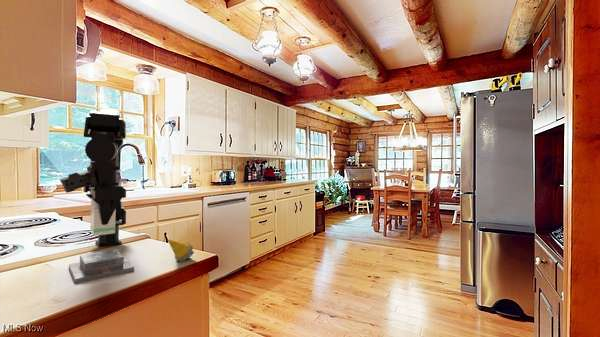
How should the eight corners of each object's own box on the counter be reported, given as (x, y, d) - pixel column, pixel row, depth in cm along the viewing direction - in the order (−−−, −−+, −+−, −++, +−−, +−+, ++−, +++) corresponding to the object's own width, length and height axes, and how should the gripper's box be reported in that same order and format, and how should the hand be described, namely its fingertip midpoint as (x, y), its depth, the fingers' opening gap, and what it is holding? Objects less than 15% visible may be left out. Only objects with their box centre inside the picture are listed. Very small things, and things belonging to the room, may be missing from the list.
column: (90, 232, 74) (91, 197, 74) (111, 229, 77) (112, 196, 77) (93, 235, 70) (94, 199, 70) (115, 233, 74) (116, 198, 73)
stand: (69, 268, 74) (69, 254, 74) (122, 258, 82) (122, 246, 82) (75, 283, 65) (75, 268, 65) (134, 270, 74) (134, 257, 74)
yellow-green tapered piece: (197, 262, 82) (173, 244, 76) (181, 268, 83) (157, 251, 77) (200, 247, 86) (178, 228, 80) (185, 253, 87) (162, 235, 82)
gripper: (59, 160, 74) (58, 220, 75) (67, 162, 61) (66, 235, 61) (110, 161, 82) (109, 215, 82) (127, 163, 69) (125, 228, 69)
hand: (102, 222), depth 74 cm, fingers closed on column, 4 cm apart
